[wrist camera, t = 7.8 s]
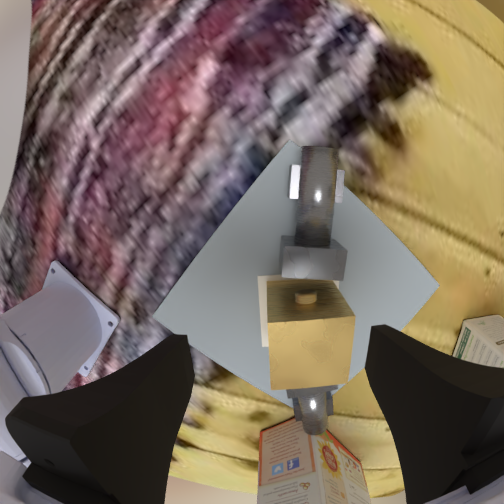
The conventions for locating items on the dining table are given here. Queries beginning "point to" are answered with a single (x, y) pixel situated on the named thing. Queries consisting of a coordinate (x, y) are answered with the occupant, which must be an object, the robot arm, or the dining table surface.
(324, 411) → the shaft
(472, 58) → the dining table surface
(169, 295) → the board
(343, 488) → the cracker box
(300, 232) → the shaft
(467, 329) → the syrup box
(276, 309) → the tan block
